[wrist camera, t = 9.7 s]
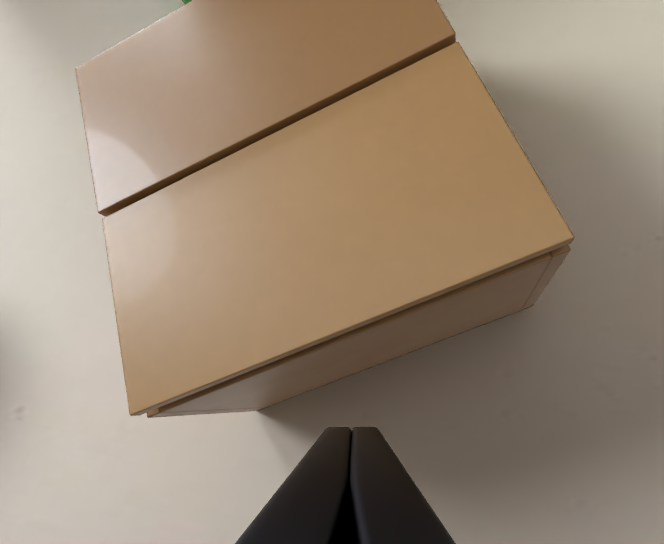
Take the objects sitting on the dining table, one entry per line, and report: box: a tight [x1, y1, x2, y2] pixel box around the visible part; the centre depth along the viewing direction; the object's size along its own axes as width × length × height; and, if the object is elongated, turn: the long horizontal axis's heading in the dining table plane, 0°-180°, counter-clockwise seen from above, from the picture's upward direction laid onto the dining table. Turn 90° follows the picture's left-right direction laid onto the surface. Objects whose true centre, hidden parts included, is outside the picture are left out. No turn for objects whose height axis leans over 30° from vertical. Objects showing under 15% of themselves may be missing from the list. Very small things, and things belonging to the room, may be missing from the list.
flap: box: [102, 42, 574, 416], centre depth 13 cm, size 7×13×1 cm, turn 109°
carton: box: [76, 0, 570, 418], centre depth 18 cm, size 14×13×8 cm
